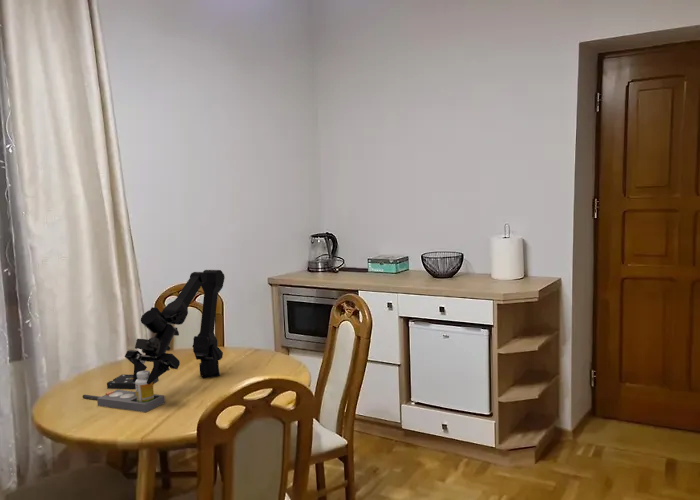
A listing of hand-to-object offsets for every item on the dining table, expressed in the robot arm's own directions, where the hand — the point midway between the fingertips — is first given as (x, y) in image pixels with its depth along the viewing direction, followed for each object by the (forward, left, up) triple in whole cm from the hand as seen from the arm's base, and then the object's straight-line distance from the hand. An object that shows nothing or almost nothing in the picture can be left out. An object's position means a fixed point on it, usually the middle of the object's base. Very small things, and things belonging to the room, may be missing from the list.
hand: (140, 382), depth 203 cm
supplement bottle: (-1, -1, -7) cm, 7 cm away
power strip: (+8, -8, -8) cm, 14 cm away
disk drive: (+4, -27, -9) cm, 29 cm away
